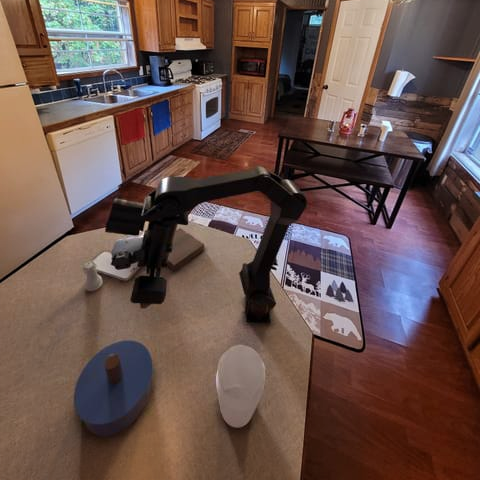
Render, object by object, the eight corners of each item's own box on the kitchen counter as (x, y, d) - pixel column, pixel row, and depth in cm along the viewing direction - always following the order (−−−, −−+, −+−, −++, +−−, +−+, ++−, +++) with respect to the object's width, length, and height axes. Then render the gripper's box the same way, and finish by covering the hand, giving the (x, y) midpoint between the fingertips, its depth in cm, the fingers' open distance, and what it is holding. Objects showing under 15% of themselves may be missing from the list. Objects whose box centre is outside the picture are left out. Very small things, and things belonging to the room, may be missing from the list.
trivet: (204, 249, 89) (204, 244, 88) (174, 271, 80) (174, 265, 79) (180, 232, 96) (180, 227, 95) (150, 251, 87) (149, 245, 86)
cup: (256, 443, 46) (263, 408, 41) (208, 428, 47) (210, 393, 42) (262, 385, 54) (268, 350, 49) (221, 373, 55) (223, 338, 51)
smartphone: (104, 250, 84) (142, 262, 81) (104, 253, 85) (142, 264, 81) (85, 266, 78) (126, 279, 74) (86, 269, 78) (127, 282, 75)
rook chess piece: (81, 288, 72) (76, 267, 69) (95, 276, 76) (90, 256, 73) (93, 294, 70) (88, 273, 67) (106, 282, 74) (102, 261, 71)
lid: (160, 343, 56) (158, 325, 54) (139, 427, 43) (136, 408, 41) (97, 342, 55) (92, 324, 53) (57, 427, 43) (49, 408, 40)
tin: (158, 358, 57) (157, 344, 55) (139, 436, 46) (137, 421, 44) (101, 357, 56) (98, 343, 55) (67, 436, 45) (62, 422, 43)
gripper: (127, 204, 59) (117, 256, 64) (106, 266, 42) (94, 329, 47) (176, 211, 62) (162, 260, 67) (173, 272, 45) (155, 330, 51)
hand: (145, 289), depth 58 cm, fingers open, 9 cm apart
